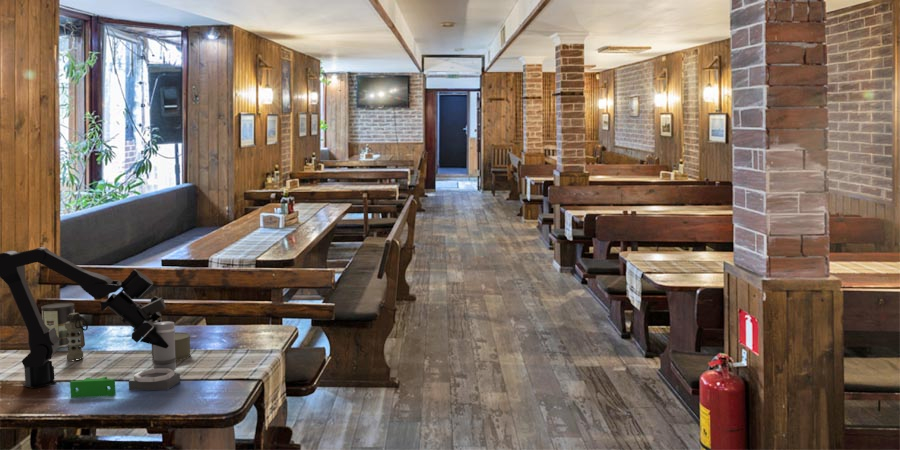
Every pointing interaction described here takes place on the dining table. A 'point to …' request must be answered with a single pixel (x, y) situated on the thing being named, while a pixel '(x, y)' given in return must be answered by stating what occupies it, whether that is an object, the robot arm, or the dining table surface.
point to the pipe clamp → (92, 387)
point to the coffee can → (58, 319)
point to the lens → (165, 355)
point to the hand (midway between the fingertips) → (169, 344)
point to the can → (180, 346)
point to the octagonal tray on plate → (154, 379)
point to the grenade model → (75, 336)
